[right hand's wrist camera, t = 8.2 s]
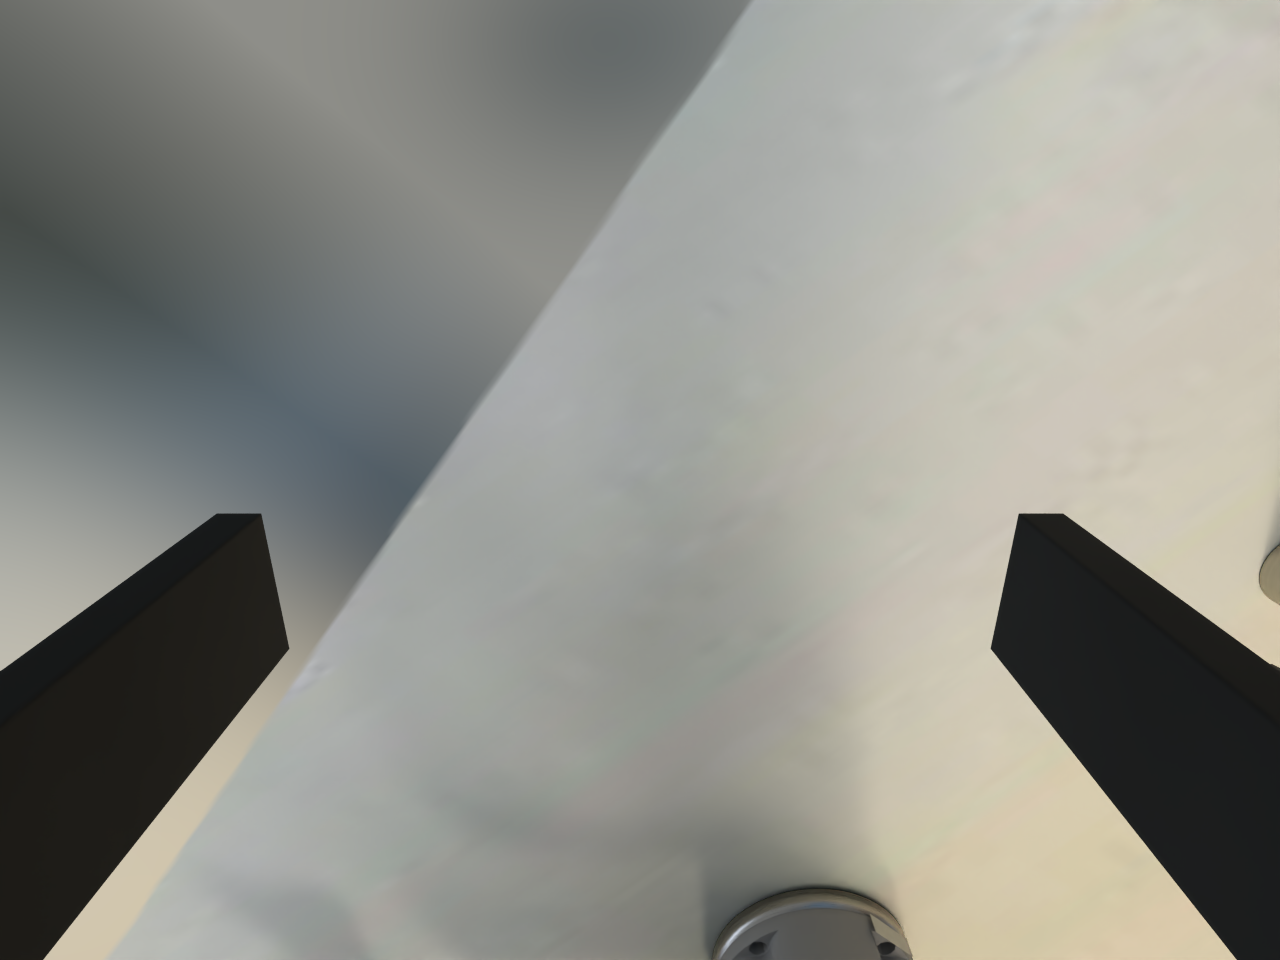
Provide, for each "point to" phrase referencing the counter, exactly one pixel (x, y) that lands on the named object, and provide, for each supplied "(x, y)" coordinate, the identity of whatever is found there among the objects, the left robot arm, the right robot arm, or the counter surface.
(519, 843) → the counter surface
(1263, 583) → the jar
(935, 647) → the counter surface
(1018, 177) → the counter surface
